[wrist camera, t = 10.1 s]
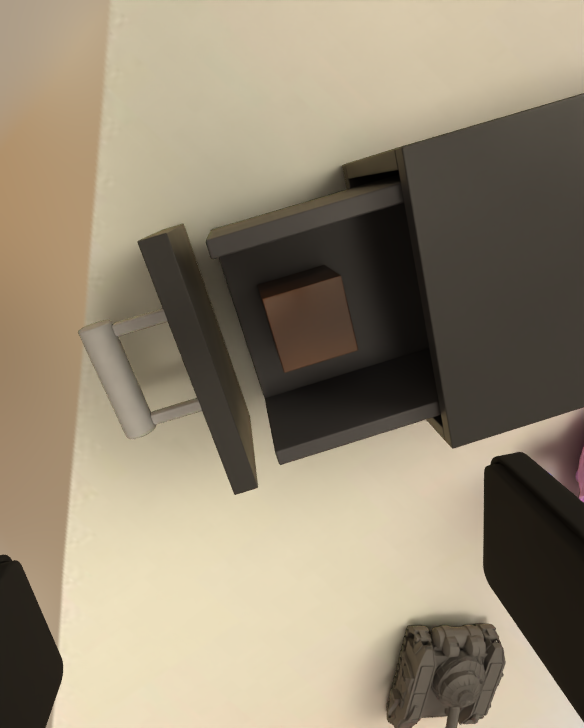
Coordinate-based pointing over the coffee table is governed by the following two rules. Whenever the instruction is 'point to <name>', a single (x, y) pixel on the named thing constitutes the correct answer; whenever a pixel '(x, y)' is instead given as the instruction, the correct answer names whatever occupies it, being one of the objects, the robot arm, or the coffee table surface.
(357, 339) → the pulled-out drawer
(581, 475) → the teapot
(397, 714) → the tank toy
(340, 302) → the block
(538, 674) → the coffee table surface
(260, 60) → the coffee table surface
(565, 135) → the small drawer cabinet
